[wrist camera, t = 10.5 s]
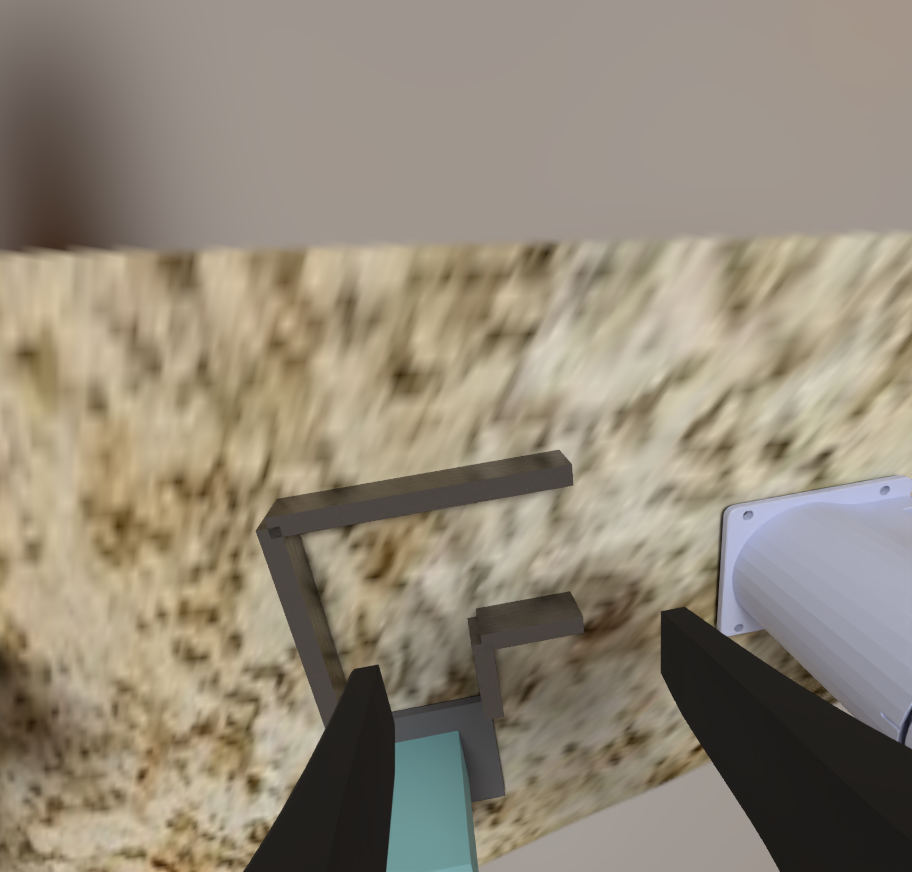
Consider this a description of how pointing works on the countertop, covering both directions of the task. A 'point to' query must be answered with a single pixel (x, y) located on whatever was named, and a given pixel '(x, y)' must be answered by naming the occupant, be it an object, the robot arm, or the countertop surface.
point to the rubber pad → (472, 734)
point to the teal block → (431, 808)
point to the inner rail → (517, 636)
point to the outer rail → (370, 505)
